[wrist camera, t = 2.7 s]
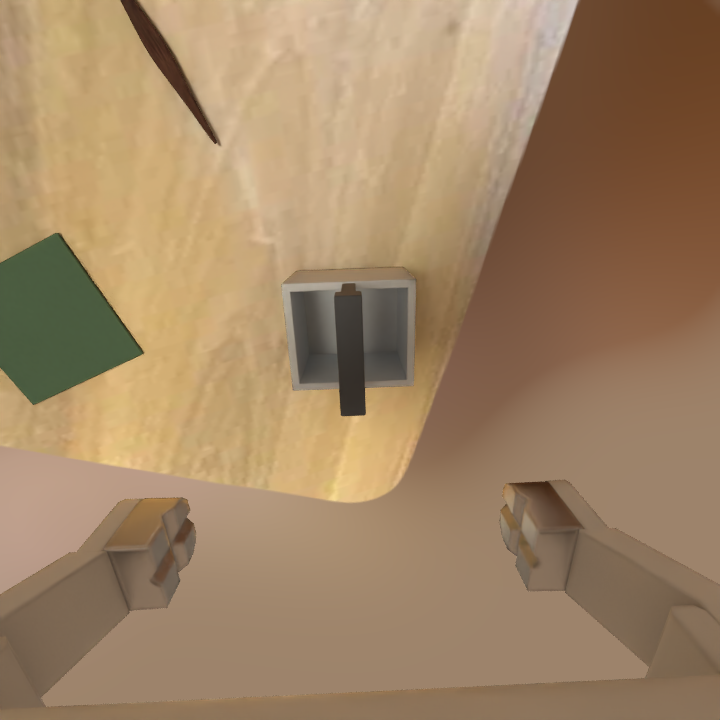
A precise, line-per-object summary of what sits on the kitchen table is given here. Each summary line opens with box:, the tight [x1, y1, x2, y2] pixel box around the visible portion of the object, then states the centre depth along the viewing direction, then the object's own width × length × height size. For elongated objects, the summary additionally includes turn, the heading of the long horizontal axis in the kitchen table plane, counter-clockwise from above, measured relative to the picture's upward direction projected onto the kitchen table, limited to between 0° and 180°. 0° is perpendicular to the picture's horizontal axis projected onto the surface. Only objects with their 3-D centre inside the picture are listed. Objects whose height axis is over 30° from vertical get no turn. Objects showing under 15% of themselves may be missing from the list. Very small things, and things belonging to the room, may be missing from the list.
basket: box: [281, 267, 416, 416], centre depth 24 cm, size 8×7×10 cm
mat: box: [0, 233, 143, 405], centre depth 28 cm, size 11×10×1 cm
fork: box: [121, 0, 217, 144], centre depth 21 cm, size 3×16×2 cm, turn 30°
